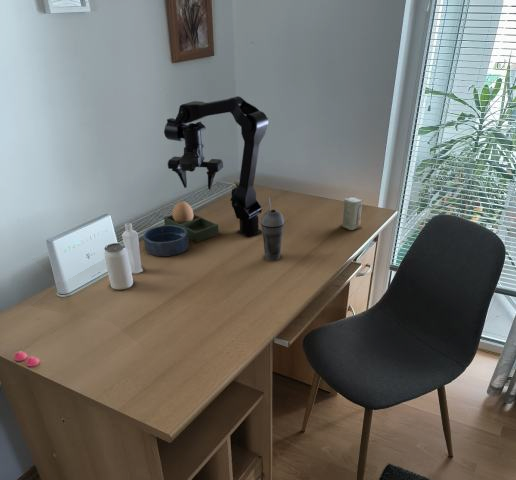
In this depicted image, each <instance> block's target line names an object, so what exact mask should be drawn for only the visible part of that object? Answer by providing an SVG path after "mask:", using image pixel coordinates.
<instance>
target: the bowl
mask: <svg viewBox="0 0 516 480" xmlns="http://www.w3.org/2000/svg"><path fill="white" fill-rule="evenodd" d="M142 237H143V243H144V244H143V245H144V249H145V251H146V253H148V254H149V255H152V256H155V257H156V256H157V257H171V256H175V255H179V254H182V253H184V252H185V251H187V250H188V248H189V238H188V235H187V231H186V229H184V228H182V227H179V226H173V225H165V224H164V225H159V226H155V227H152V228H150V229H147V230H146V231H145V232H144V233H143V236H142Z"/></svg>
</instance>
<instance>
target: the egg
mask: <svg viewBox="0 0 516 480" xmlns="http://www.w3.org/2000/svg"><path fill="white" fill-rule="evenodd" d="M193 214H194V210H193V208H192V206H191V205H190V204H189V203H187V202H185V201H179V202H177V203H175V205H174V206H173V209H172V215H173V219H174V221H175V222H176V223H178V224H183V223H186V222H188V221H191V220H193Z"/></svg>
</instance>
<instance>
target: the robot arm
mask: <svg viewBox="0 0 516 480" xmlns="http://www.w3.org/2000/svg"><path fill="white" fill-rule="evenodd" d="M226 113H227V114H228V113H230V114H231V115H232V117H233V119H234V121H235V123H236V124H237V125H238V126H240V128H241V129H240V131H241V133H240V134H241V137H242V139H243V149H242V160H241V165H240V166H241V167H240V172H239V173H240V175H239V182H238V186H236V187H234V188H232V189H231V198H230V200H229V201H230V202H231V207H232V208H233V211H234V214H235V217H236V219H238V220H239V229H238V230H236V232H237V234H240V235H241V236H245V237H247V238H251V237H253V236H256V235H258V234H261V233H263V231H262V229H259V226H260V225H259V224H260V223H259V216H258V215H259V214H261V213H262V211H263V207H262V205H261V204H260V202H259V201H258V200H257V192H256V189H255V187H254V185H255V184H254V183H255V178H256V170H257V166H258V165H257V164H258V157H259V152H260V150H259V149H260V144H261V142H262V140H263V139H264V137H265V135H266V132H267V130H268V127H269V117H267V114H266V113H264V112H263V111H262V110H260V109H258V108H257V107H256V106H254V105H253V104H251V103H249V102H247V101H246V100H245V99H244V98H243V97H242V96H238V95H237V96H233V97H230V98H226V99H225V98H224V99H220V100H219V99H218V100H215V101H209V102H204V101H199V100H193V101H190V102H186V103H185V102H184V103H182V104H180V105H179V108H178V113H177V115H176V117H175V118H173V117H170V118H167V119H166V124H165V126H164V130H163V133H164V137H165V138H166V139H167V140H169V141H170V140H171V141H177V142H184V147H183V155H181V156H172V157H171V158H170V159H168V161H167V169H168V170H171V171H172V172H175V173H176V174H177V176H178V177H179V179H180V181H181V183H182V185H183V188H184V189H186V188H188V180H187V179H188V178H187V172H192V173H193V172H195V170H196V168H206V170H207V171H206V175H207V187H208V190H209V191H210V190H211V189H212V185H213V182H214V180H215V176H216V175H217V173H218V172H220V171H221V170H222V169H223V168H224V162H223V160H222V159H221V158H211V159H209V161H205V156H204V154H203V152H204V151H203V148H204V144H203V142H202V131H204V130H206V128H207V127H206V126H205V124H203V123H202V121H199V120H201V119H204V118H206V117H208V116H215V115H220V114H226ZM196 121H198V122H196ZM193 122H196V123H193Z"/></svg>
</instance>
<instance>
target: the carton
mask: <svg viewBox="0 0 516 480" xmlns="http://www.w3.org/2000/svg"><path fill="white" fill-rule="evenodd" d="M163 222H164V226H165V225H173V226H179V227H182V228H184V229H186V231H187V235H188V240H191V241H193V242H195V243H200V242H202V241H204V240H208V239H210V238H212V237H215V236H218V235H220V230H219V224H217V223H215V222H213V221H211V220H208V219H206V218H204V217H202V216H200V215H198V214H195V213H193V220H191V221H188V222H186V223H183V224H178V223H176V222H175V221H174V219H173V214H171V215H168V216H165V217H163Z"/></svg>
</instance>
